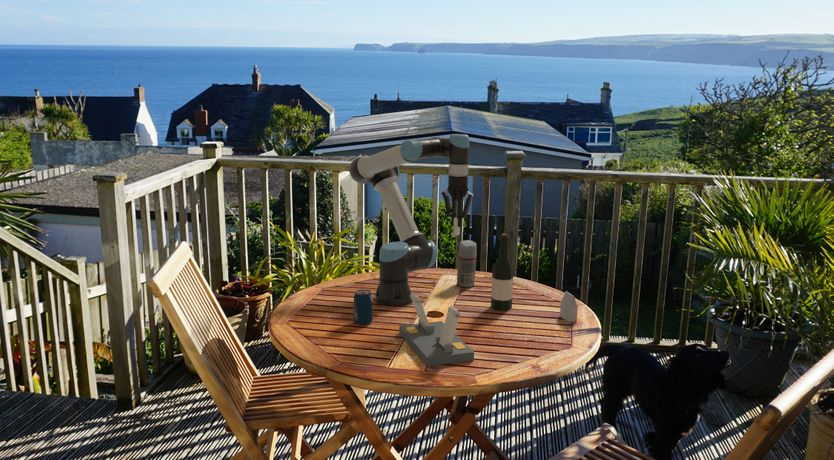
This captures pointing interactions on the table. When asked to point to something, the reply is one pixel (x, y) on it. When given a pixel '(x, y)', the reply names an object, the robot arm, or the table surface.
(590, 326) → the table surface
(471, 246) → the spray can
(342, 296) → the table surface
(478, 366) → the table surface
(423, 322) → the lever
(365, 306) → the soda can
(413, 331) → the switch board
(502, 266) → the wine bottle
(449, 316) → the lever
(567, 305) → the tea bag
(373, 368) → the table surface
